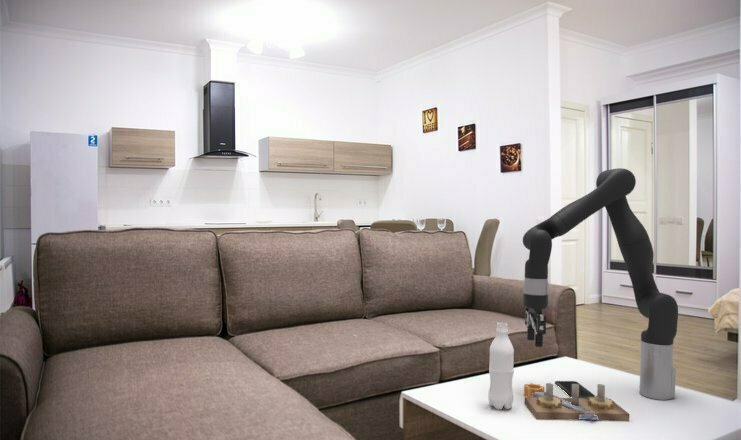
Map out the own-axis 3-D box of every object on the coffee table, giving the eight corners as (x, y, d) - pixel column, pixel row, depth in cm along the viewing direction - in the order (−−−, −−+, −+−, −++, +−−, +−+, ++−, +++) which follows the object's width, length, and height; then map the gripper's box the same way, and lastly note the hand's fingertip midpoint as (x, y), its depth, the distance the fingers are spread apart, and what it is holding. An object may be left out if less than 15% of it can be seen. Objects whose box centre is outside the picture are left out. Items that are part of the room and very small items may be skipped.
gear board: (610, 405, 161) (610, 379, 160) (629, 421, 149) (630, 392, 148) (524, 403, 161) (525, 377, 161) (536, 419, 149) (537, 390, 149)
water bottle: (496, 400, 163) (498, 319, 162) (517, 407, 158) (519, 323, 157) (483, 406, 158) (485, 323, 157) (504, 413, 153) (506, 327, 152)
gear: (540, 392, 171) (540, 383, 171) (547, 399, 165) (547, 390, 165) (521, 392, 171) (521, 383, 171) (527, 399, 165) (527, 389, 165)
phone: (571, 396, 166) (553, 380, 181) (571, 399, 166) (553, 384, 181) (596, 396, 166) (576, 381, 181) (596, 400, 166) (576, 384, 181)
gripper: (555, 296, 160) (553, 349, 161) (540, 289, 175) (539, 338, 175) (530, 295, 160) (529, 348, 161) (517, 288, 175) (516, 337, 175)
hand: (534, 343), depth 168 cm, fingers open, 8 cm apart
